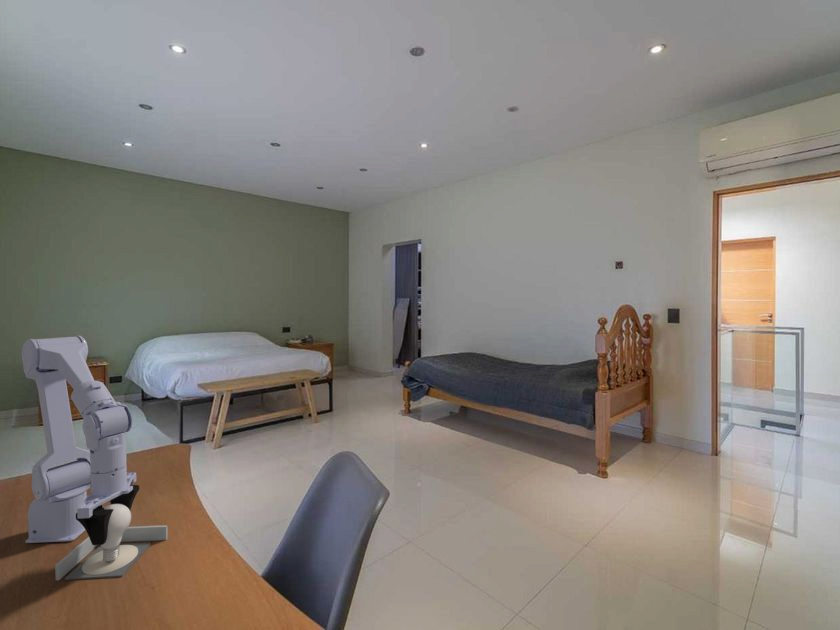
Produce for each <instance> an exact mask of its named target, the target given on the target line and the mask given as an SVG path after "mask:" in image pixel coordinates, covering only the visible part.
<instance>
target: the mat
mask: <svg viewBox="0 0 840 630" xmlns="http://www.w3.org/2000/svg"><path fill="white" fill-rule="evenodd" d="M151 545H152V542H135V543H133V542H131V543H120V546H119V556H118V557H117V558H116V559H114V560H113V561H110V562H107V561H103V548H102V546H101V545H99V546H97V548H95V549H94V550H93V552H92V553H91V554H89V555H88V557H86V559H84V560H83V561H81V563H80V564H78V566H77V567H76V568H74V569H73V570H71V572H70V573H69V574H68V575H67V576H66V577H64V580H65V581H71V580H72V581H73V580H87V579H88V580H89V579H90V580H91V579H105V578H106V579H107V578H123V576H124V575H125V574H126V573H127V572H128V571H129V570H130V569H131V567H132V566H133V565H134V564H135V563H136V562H137V561H138V559H139V558H140V557H141V556H142V555H143V554H144V553H145V552H146V550H147V549H148V548H149V547H150V546H151Z"/></svg>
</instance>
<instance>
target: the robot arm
mask: <svg viewBox="0 0 840 630" xmlns="http://www.w3.org/2000/svg"><path fill="white" fill-rule="evenodd" d="M21 348H22V350H21V360H22V367H23V373H24V374H25V378H26V379H31V380H33V381H35V384H36V388H37V392H38V399H39V405H40V406H39V407H40V413H41V419H42V425H43V432H44V439H45V443H46V444H45V445H46V453H45V455H43V457H41V458H40V459H39V460H38V461H37V462H36V463H34V465H33V466H32V470H31V473H32V474H31V477H32V478H31V489H32V494H33V495H34V499H33V500H32V501H31V502H30V505H29V508H28V512H27V524H28V525H27V526H28V528H27V529H28V530H27V531H28V538H27V539H26V540H25V544H36V543H37V544H38V543H55V542H56V543H59V542H72V541H74V540H76V539H77V538H79V536H81V535H82V534H83V533H84V532H85V531H86V533H87V535H88V537H89V538H90V541H91V543H92V545H97V546H101V545H103V544H104V543H105V542H106V539H107V531H108V523H109V520H110V517H111V514H112V512H113V510H114V509H104V507H103V505H104V504H105V503H107V502H110V505H111V504H122V505H125V506H126V507H128V508H129V510H130V511H132V510H131V509H132V506H133V502H134V500H135V498H136V497H137V494H138V493H139V490H140V485H138V484H134V483H135V482H137V472H127V469H128V468H127V467H128V466H127V433H128V432H130V431H131V429H132V425H133V416H132V412H131V411H130V408H129V406H127V405H126V404H125V403H121V402H120V401H116V400H115V399H114V397H113V396H112V394H111V393H110V391H109V389H108V387H107V386H106V385H105V384H104V382H101V380H100V381H99V380H95V379H94V377H93V374H92V373H91V371H90V367H89V366H88V363H87V359H88V354H89V347H88V342H87V340H86V339H85V338H84V337H83V336H82V335H75V336H64V337H63V336H62V337H51V338H49V337H47V338H36V339H34V338H29V339H27V340H26V341H25V342H24V343H23V345H22V347H21ZM67 383H68V384H69V385H70V386H71V388H72V389H73V391H72V392H71V395H70V398H69V393H68V387H67ZM69 399H71V400H72V402H73V405H74V406H75V407H76V408H77V410H78V412H79V415H80V416H81V417H82V419H83V421H82V431H83V434H84V436H85V444H86V445H85V446H86V448H87V449H84V448H81V447H79V446H77V445H76V439H75V431H74V425H73V418H72V412H71V406H70V405H71V404H70V400H69ZM89 489H90V492H89V493H88V490H89ZM87 493H88V494H87Z"/></svg>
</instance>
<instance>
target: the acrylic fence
mask: <svg viewBox="0 0 840 630" xmlns="http://www.w3.org/2000/svg"><path fill="white" fill-rule="evenodd" d="M168 526H169V525H164V524H163V525H141V526H137V525H136V526H128V528H127V529H126V531H125V532H124V534H123V536H122V540H121V542H120V543H126V542H127V543H129V542H130V543H133V542H149V541H150V542H151V541H152V542H153V541H167V540H168V539H169V538H168V537H169V535H168V532H169V531H168V530H169V527H168ZM96 547H98V545H92V543H91V541H90V538H89V536H88V537H87V538H86V539H84V540H82V542H80V543H79V544H78V545H76V546H75V548H73V549H72V550H71V551H70V552H69V553H67V555H65V556H64V557H63V558H62V559H61V560H59V561H58V562H57V563H56V564H55V566H54V568H55V569H54V571H55V581H60V580H62V579H63V578H64V577H65V576H66V574H68V573H69V572H70V571H72V569H74V568H75V567H76V565H79V564H78V563H80V562H82V560H83V559H84V558H85V557H87V556H88V555H90V553H91V552H92V551H94V550H95V549H96Z"/></svg>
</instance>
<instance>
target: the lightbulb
mask: <svg viewBox="0 0 840 630" xmlns="http://www.w3.org/2000/svg"><path fill="white" fill-rule="evenodd" d="M103 508H104V509H114V510H113V512H112V514H111V517H110V520H109V523H108V531H107V539H106V542H105V543H104V544H103V545H100V546H102V548H103V561H107V562H110V561H113V560H114V559H116V558H117V557H118V556H119V546H120V544H121V543H122V542H121V540H122V536H123V534H124V532H125V531H126V529H127V528H128V527H130V523H131V521H132V512H131V510H129V508H128V507H126V506H125V505H122V504H111V503H110V504H108V505H105V506H104V507H103Z"/></svg>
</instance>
